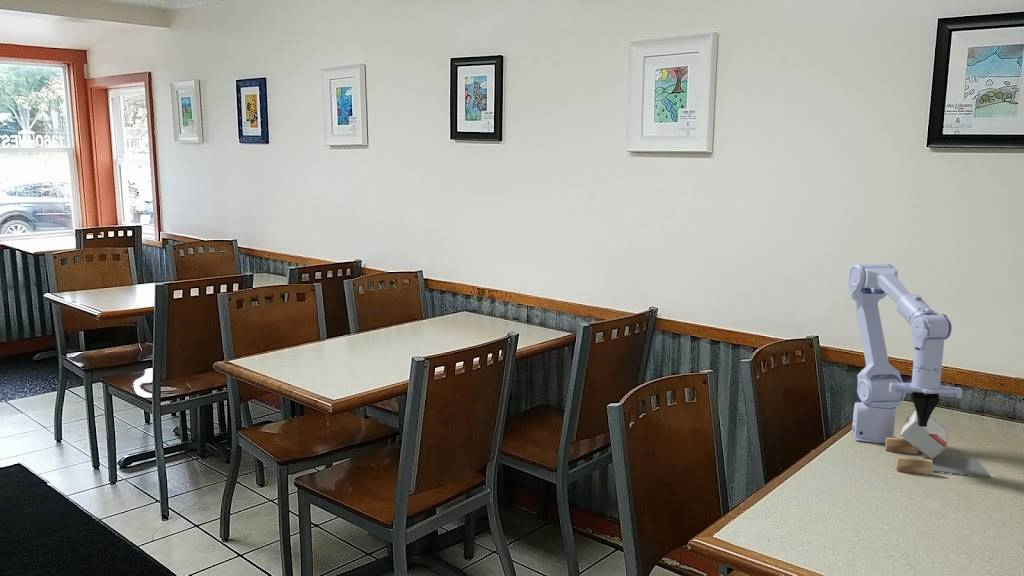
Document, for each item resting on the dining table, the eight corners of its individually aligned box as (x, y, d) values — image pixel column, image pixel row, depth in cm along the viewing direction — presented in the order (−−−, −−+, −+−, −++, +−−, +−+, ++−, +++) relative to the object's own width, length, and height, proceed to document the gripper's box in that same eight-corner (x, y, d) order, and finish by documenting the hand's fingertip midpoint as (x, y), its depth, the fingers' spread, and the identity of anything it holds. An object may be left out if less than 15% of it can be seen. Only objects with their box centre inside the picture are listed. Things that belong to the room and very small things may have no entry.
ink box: (932, 461, 178) (935, 444, 188) (947, 446, 176) (950, 430, 186) (899, 435, 181) (904, 420, 191) (913, 420, 179) (918, 406, 188)
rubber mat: (932, 472, 173) (932, 470, 173) (921, 455, 184) (921, 453, 184) (990, 478, 170) (990, 476, 170) (975, 460, 180) (976, 458, 180)
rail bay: (896, 471, 174) (898, 458, 173) (885, 449, 187) (886, 437, 187) (931, 474, 172) (932, 461, 171) (917, 452, 185) (918, 440, 185)
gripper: (895, 368, 174) (890, 427, 176) (968, 374, 170) (962, 433, 172) (889, 361, 180) (884, 418, 182) (959, 366, 176) (954, 424, 178)
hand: (922, 425), depth 177 cm, fingers closed
